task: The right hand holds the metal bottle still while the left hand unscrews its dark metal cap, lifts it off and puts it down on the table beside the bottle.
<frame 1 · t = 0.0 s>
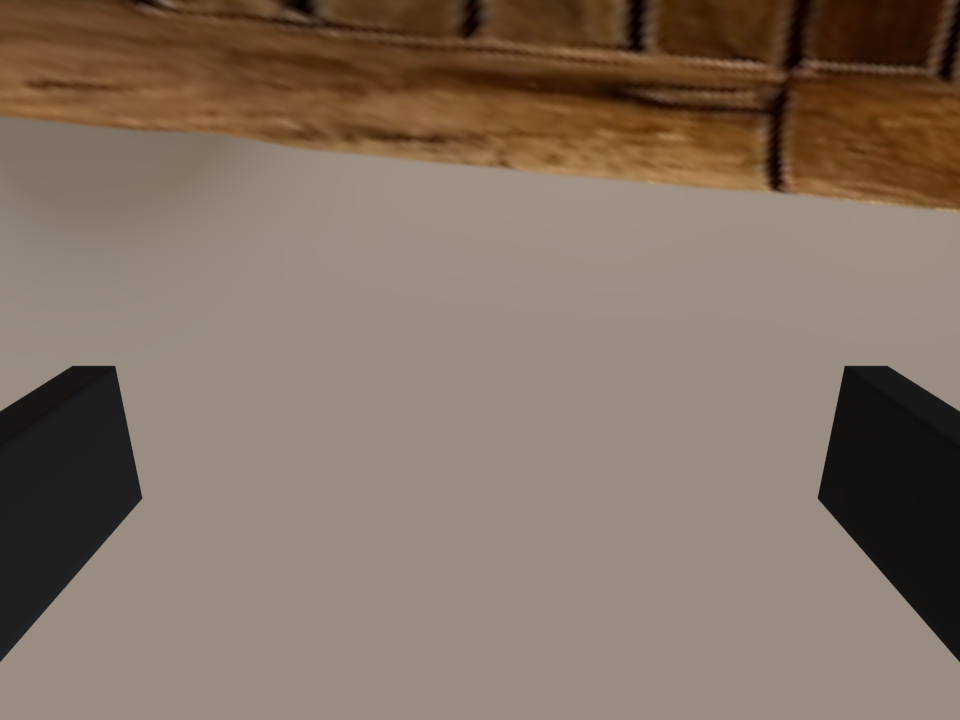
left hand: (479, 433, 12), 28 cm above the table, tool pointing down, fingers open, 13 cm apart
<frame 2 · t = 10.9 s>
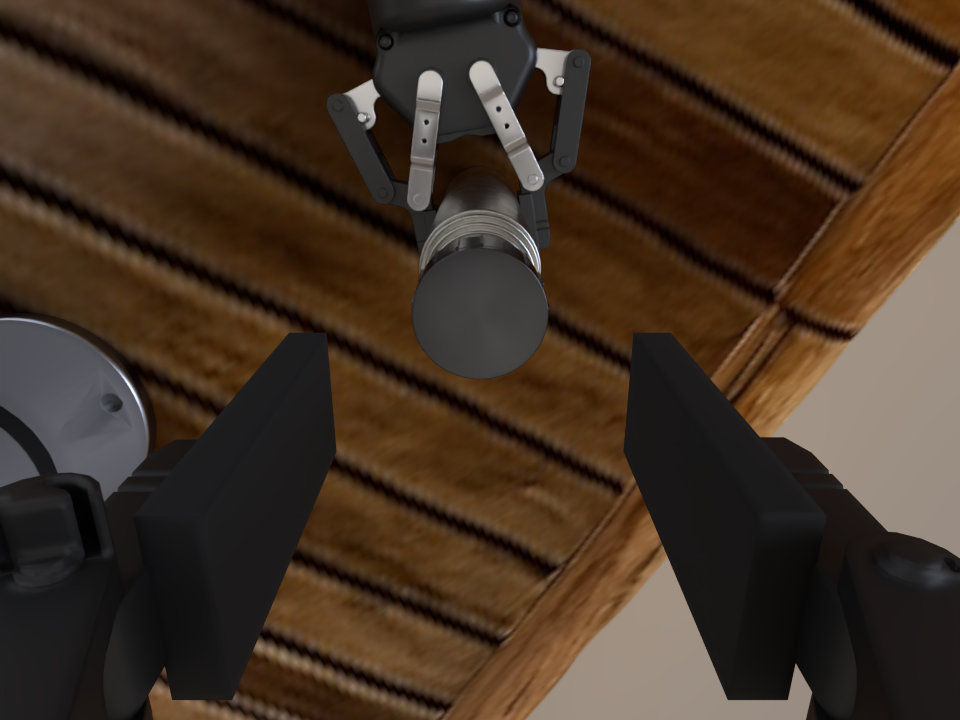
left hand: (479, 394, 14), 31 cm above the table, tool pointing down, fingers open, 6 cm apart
right hand: (488, 264, 38), fingers closed on bottle, 4 cm apart
bottle: (480, 202, 43), on the table, touching right hand
cap: (479, 313, 20), point 25 cm above the table, screwed on, not yet turned
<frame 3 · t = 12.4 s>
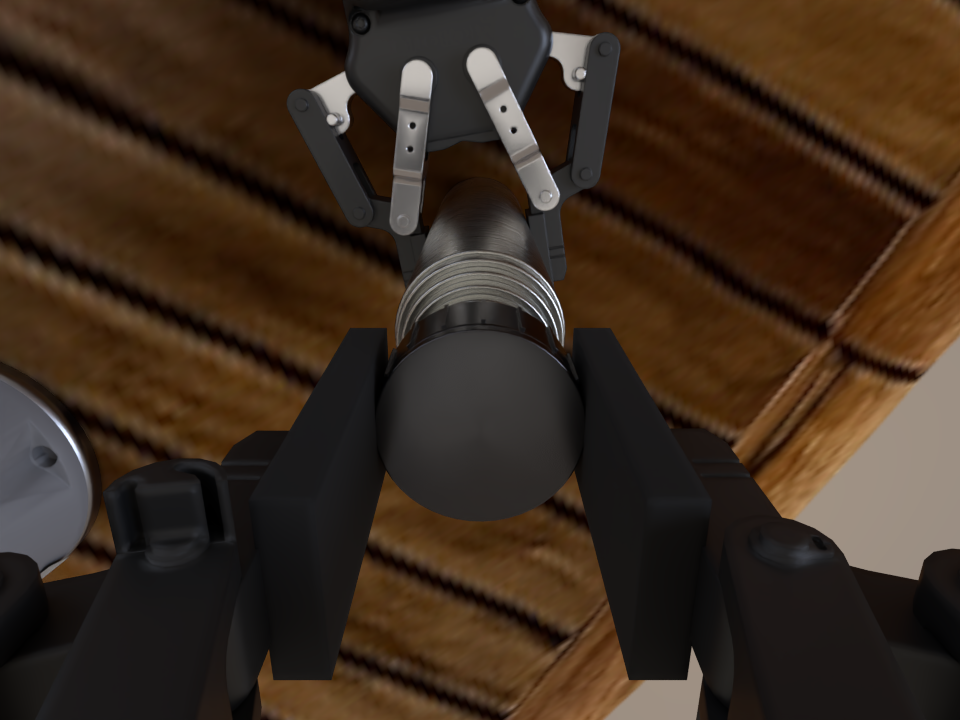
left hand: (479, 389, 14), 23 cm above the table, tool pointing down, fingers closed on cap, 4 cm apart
right hand: (490, 298, 31), fingers closed on bottle, 4 cm apart
bottle: (480, 220, 36), on the table, touching right hand
cap: (480, 424, 13), point 25 cm above the table, screwed on, not yet turned, touching left hand
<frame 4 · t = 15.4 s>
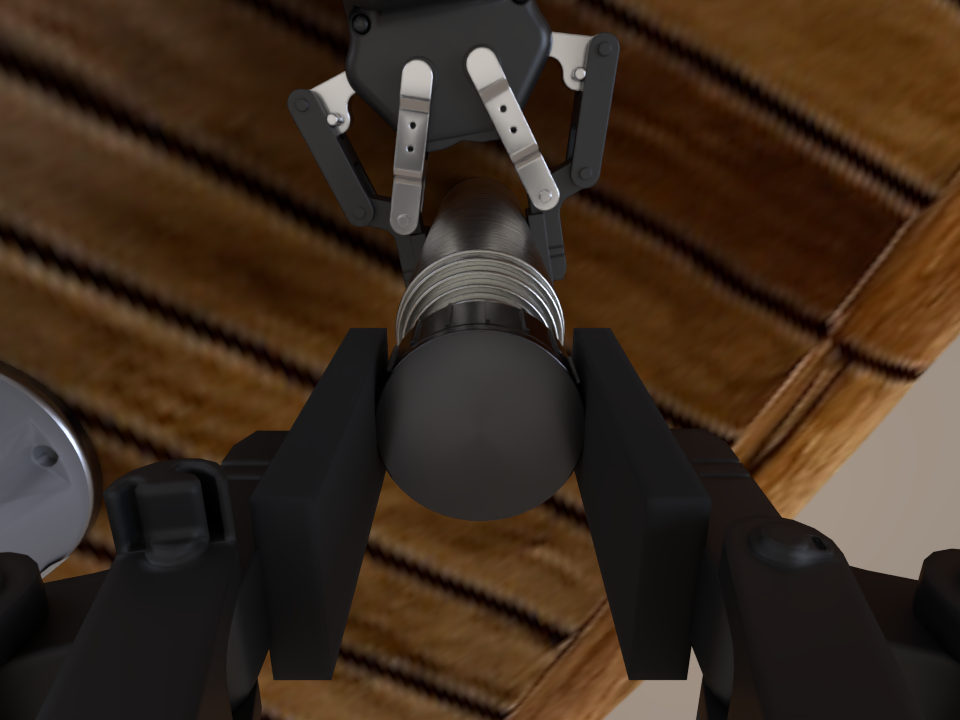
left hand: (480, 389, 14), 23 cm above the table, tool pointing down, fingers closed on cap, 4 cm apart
right hand: (490, 298, 31), fingers closed on bottle, 4 cm apart
bottle: (479, 220, 36), on the table, touching right hand
cap: (480, 423, 13), point 25 cm above the table, turned 82° so far, risen 0.1 cm, still on its thread, touching left hand
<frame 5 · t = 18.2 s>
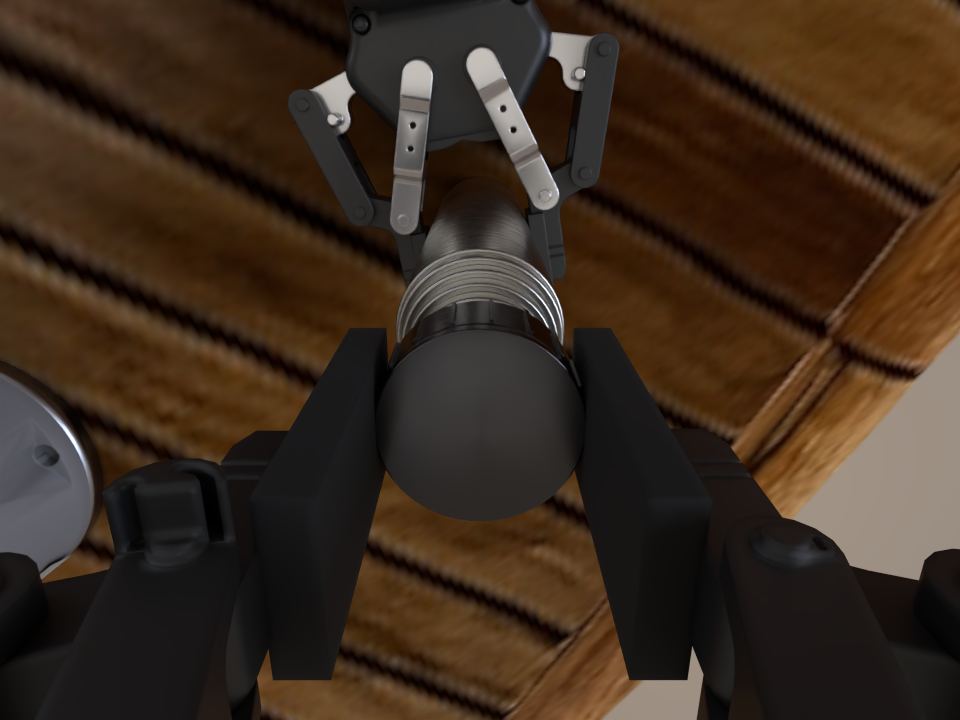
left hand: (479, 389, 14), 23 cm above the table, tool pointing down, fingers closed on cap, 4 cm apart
right hand: (490, 297, 31), fingers closed on bottle, 4 cm apart
bottle: (479, 220, 36), on the table, touching right hand
cap: (480, 423, 13), point 25 cm above the table, turned 165° so far, risen 0.2 cm, still on its thread, touching left hand
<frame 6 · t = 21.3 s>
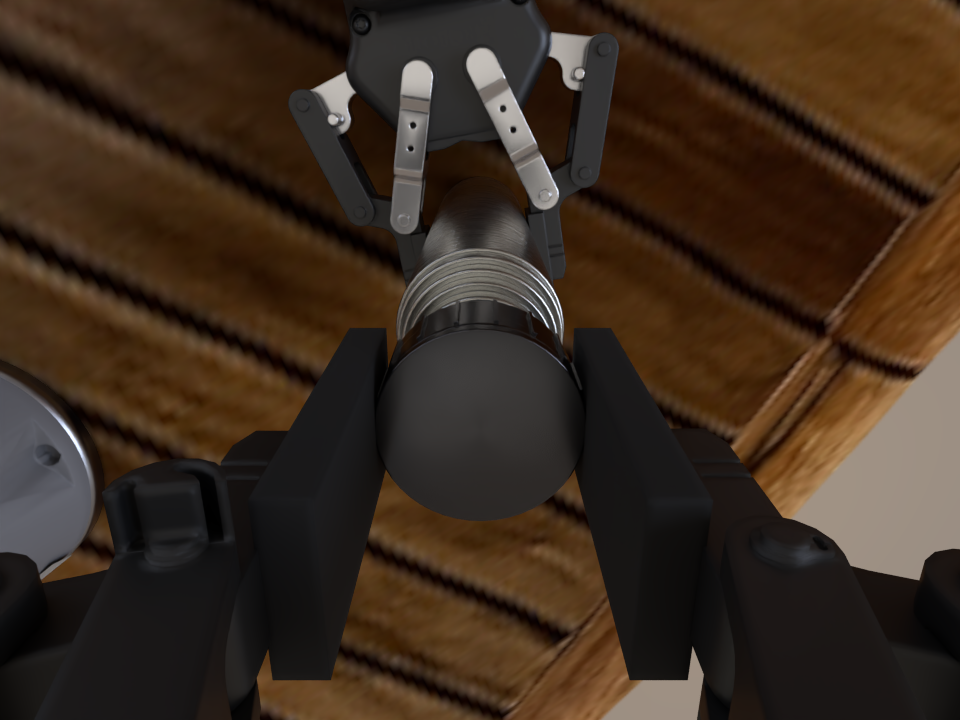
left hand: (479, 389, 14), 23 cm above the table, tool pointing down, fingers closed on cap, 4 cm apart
right hand: (490, 297, 31), fingers closed on bottle, 4 cm apart
bottle: (479, 220, 36), on the table, touching right hand
cap: (480, 423, 13), point 25 cm above the table, turned 247° so far, risen 0.2 cm, still on its thread, touching left hand
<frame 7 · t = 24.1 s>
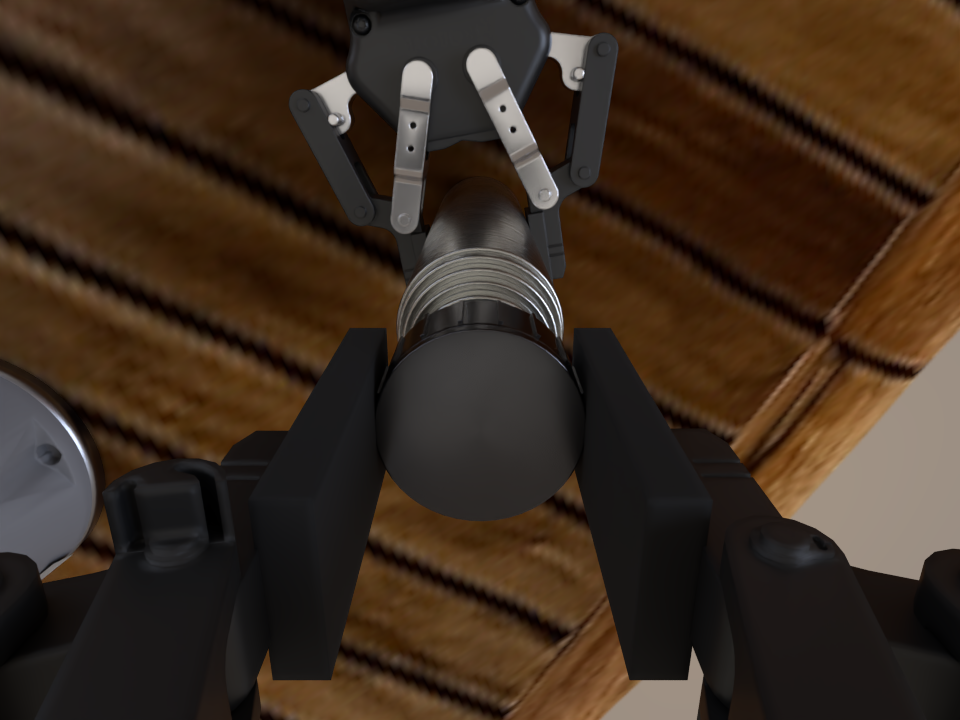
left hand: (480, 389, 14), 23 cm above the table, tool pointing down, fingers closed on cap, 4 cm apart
right hand: (490, 296, 31), fingers closed on bottle, 4 cm apart
bottle: (479, 219, 36), on the table, touching right hand
cap: (480, 423, 13), point 25 cm above the table, turned 330° so far, risen 0.3 cm, still on its thread, touching left hand
when the left hand's fingers open (1 cm above the table, at t = 34.4 s): cap drops 1 cm, point 2 cm above the table.
when the right hand's fingers open (6 cm above the table, at t = 35.6 s): bottle stays where it is, on the table.
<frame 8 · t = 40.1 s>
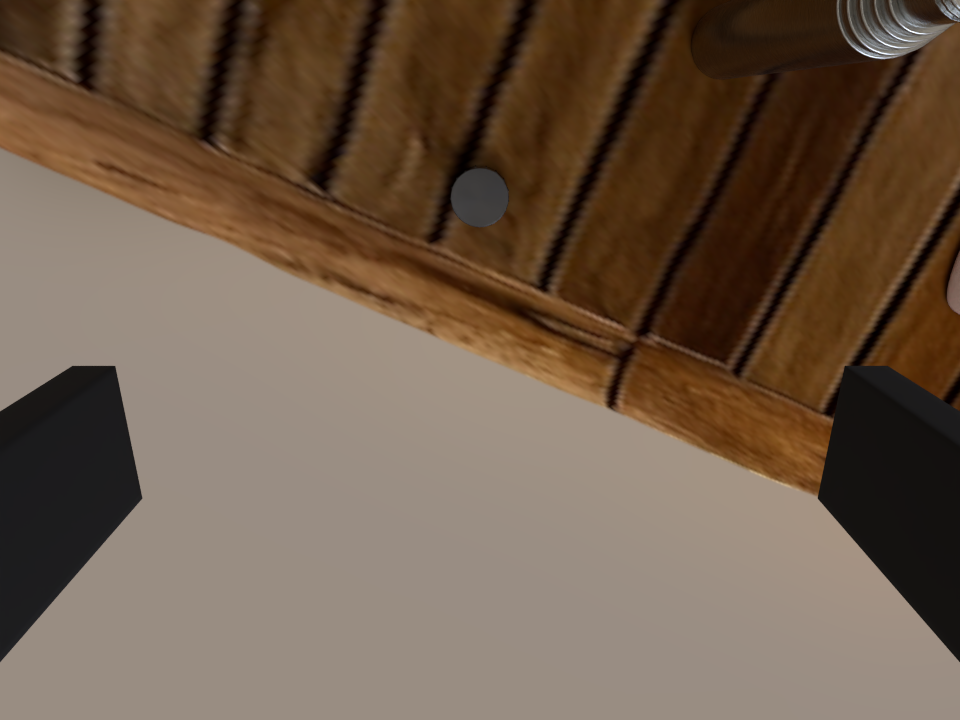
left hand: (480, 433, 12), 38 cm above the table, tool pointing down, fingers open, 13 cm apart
bottle: (725, 42, 44), on the table
cap: (479, 197, 46), point 2 cm above the table, off its thread
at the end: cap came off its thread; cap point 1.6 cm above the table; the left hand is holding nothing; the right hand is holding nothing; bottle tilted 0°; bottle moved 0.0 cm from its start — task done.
